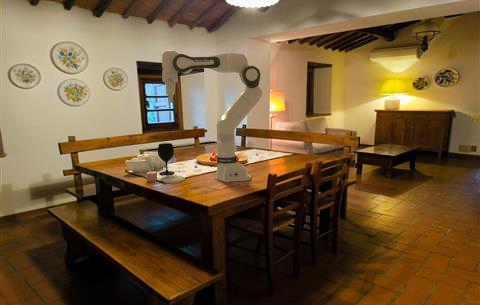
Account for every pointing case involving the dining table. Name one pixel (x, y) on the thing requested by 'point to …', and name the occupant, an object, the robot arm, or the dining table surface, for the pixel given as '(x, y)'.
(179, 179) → the tile
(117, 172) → the dining table surface
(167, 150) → the wine glass
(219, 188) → the dining table surface
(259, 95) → the robot arm
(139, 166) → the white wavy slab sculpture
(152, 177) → the orange cube
